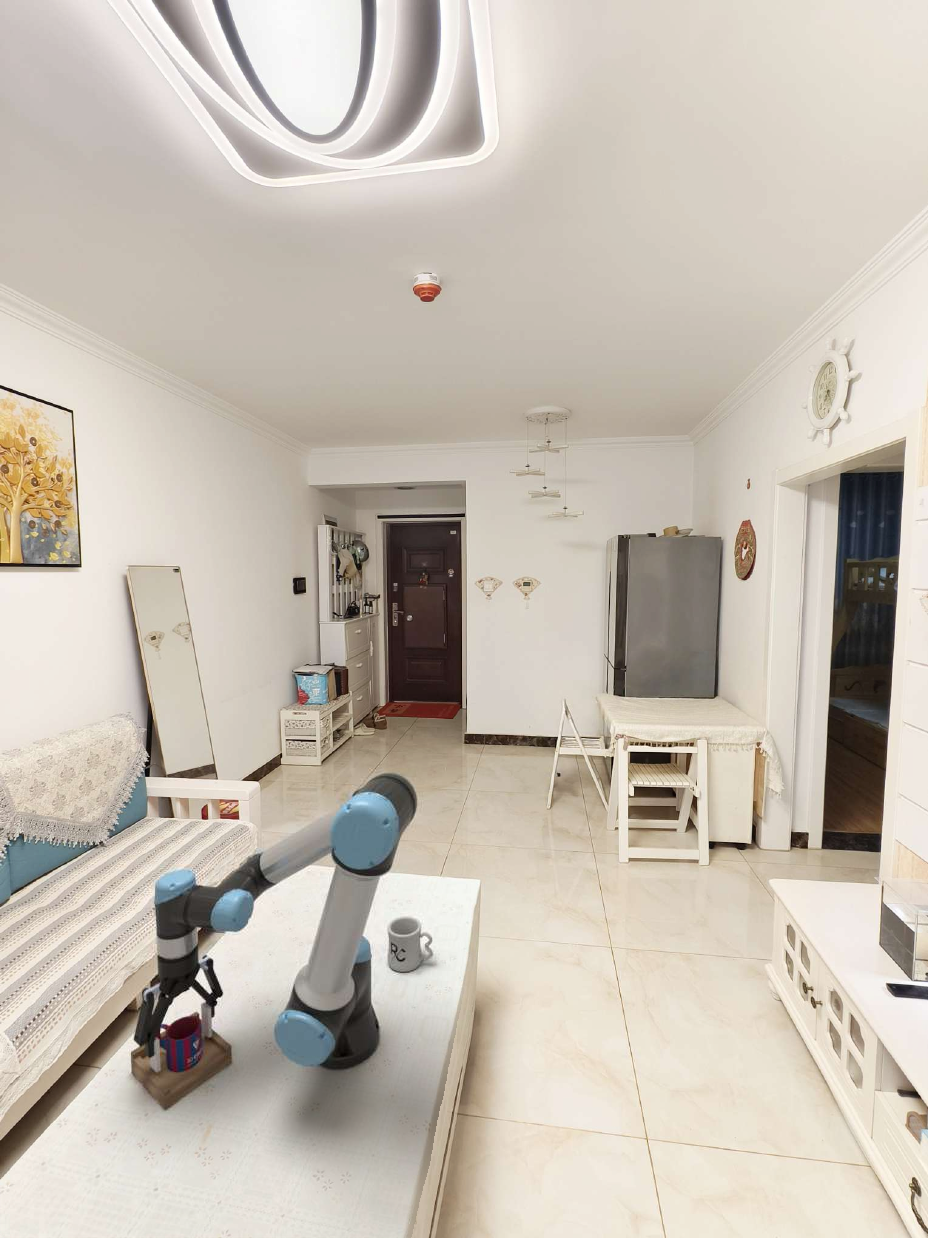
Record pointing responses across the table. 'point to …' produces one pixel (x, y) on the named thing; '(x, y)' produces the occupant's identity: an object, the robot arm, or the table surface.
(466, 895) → the table surface
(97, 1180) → the table surface
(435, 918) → the table surface
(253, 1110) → the table surface
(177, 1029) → the cup
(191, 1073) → the tan flat rimmed tray
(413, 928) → the mug
